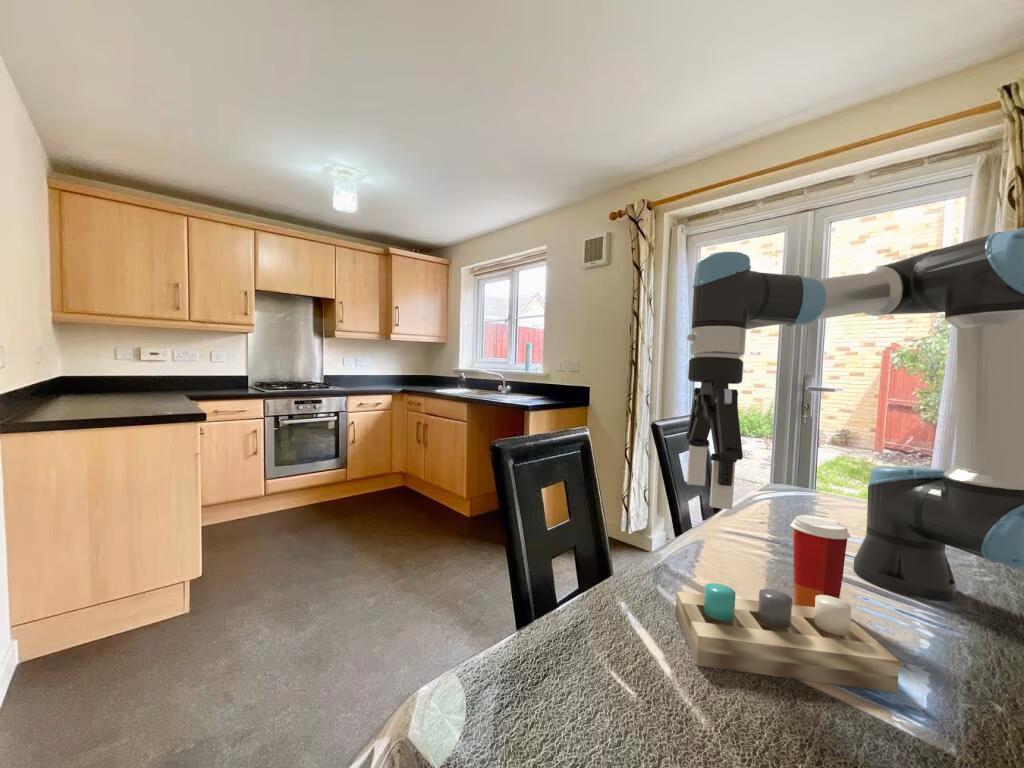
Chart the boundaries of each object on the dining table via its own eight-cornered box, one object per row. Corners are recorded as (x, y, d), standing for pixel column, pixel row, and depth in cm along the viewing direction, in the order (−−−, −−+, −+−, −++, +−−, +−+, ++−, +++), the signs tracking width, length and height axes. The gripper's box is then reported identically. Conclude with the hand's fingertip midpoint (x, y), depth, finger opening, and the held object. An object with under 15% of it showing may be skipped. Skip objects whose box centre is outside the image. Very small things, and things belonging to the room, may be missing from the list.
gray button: (782, 614, 63) (783, 590, 63) (796, 629, 59) (797, 604, 59) (753, 610, 63) (754, 587, 63) (765, 626, 59) (766, 601, 59)
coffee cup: (834, 601, 76) (839, 518, 76) (854, 626, 68) (859, 533, 68) (780, 592, 79) (784, 511, 78) (793, 614, 71) (798, 525, 71)
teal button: (728, 607, 64) (729, 584, 64) (738, 622, 60) (740, 598, 60) (700, 604, 64) (701, 581, 64) (708, 619, 60) (709, 594, 60)
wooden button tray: (838, 635, 65) (840, 610, 65) (897, 692, 53) (899, 661, 53) (675, 616, 69) (676, 591, 69) (696, 665, 57) (698, 635, 57)
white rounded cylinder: (838, 620, 62) (839, 596, 62) (856, 637, 58) (858, 611, 58) (808, 617, 62) (809, 593, 62) (824, 633, 58) (825, 607, 58)
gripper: (673, 360, 78) (666, 475, 78) (713, 349, 54) (703, 517, 54) (717, 362, 77) (709, 479, 77) (778, 352, 52) (767, 524, 53)
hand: (706, 495), depth 65 cm, fingers open, 13 cm apart
